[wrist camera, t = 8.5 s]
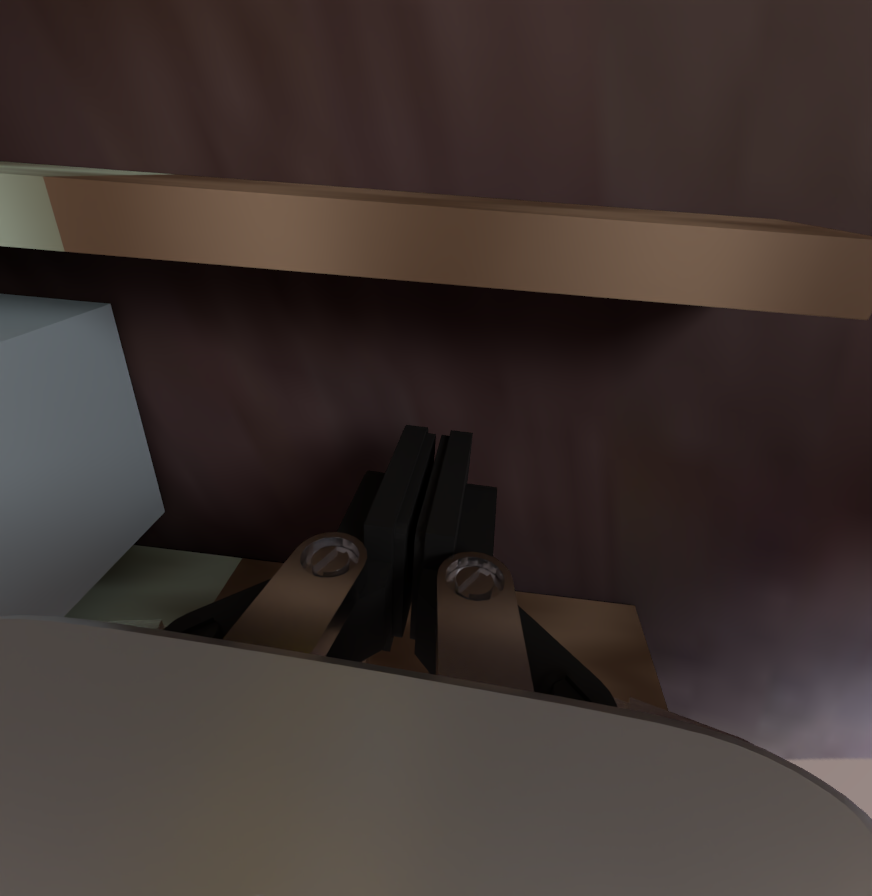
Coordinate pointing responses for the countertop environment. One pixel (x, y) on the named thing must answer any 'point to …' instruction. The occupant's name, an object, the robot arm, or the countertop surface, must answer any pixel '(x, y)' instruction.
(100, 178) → the bay
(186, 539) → the countertop surface
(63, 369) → the crate
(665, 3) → the countertop surface
